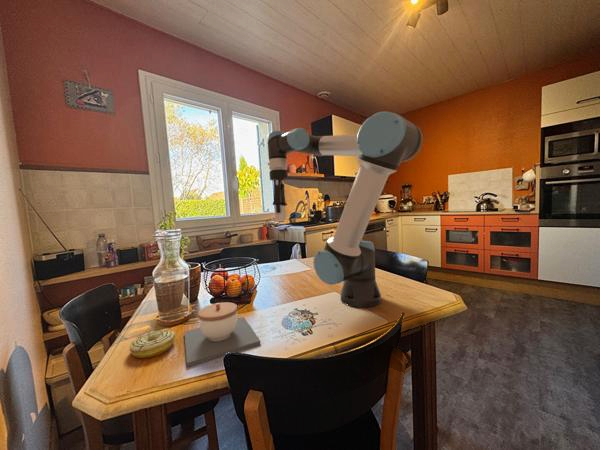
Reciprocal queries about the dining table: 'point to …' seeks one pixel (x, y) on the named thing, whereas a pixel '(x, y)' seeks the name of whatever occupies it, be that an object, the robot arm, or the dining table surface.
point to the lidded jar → (218, 320)
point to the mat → (218, 343)
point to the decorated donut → (152, 343)
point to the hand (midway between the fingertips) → (281, 220)
